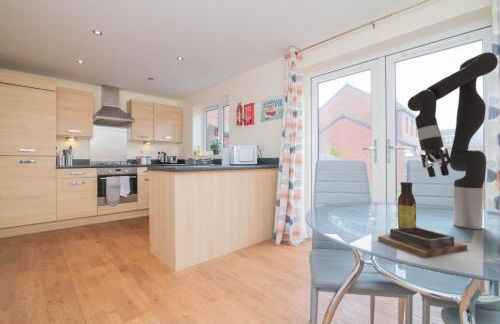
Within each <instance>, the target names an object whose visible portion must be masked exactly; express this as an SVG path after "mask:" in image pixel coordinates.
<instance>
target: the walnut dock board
mask: <svg viewBox="0 0 500 324" xmlns="http://www.w3.org/2000/svg"><path fill="white" fill-rule="evenodd" d="M377 237H378V238H377V240H378V241H379V242H381V243H384V244H387V245H389V246H392V247H395V248H397V249H400V250H403V251H406V252H408V253H411V254H414V255H417V256H419V257H422V258H425V259H426V258H430V257H437V256H441V255H446V254H447V255H448V254H451V253H455V252H456V253H457V252H461V251H466V250H468V244H466V243H461V242H458V241H455V237H454V236H452V235H448V234H444V233H442V232H441V233H440V232H437V231H433V230H429V229H426V228H421V227H418V226H416V227H415V226H412V227H404V228H398V227H397V228H390V231H389V234H385V235H378V236H377Z"/></svg>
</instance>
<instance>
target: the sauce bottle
mask: <svg viewBox="0 0 500 324" xmlns="http://www.w3.org/2000/svg"><path fill="white" fill-rule="evenodd" d="M412 226H415V227H417V202H416V199H415V196H414V194H413V182H411V181H400V194H399V196H398V197H397V228H404V227H412Z"/></svg>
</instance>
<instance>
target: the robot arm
mask: <svg viewBox="0 0 500 324" xmlns="http://www.w3.org/2000/svg"><path fill="white" fill-rule="evenodd" d="M498 61H499V60H498V57H497V55H496V54H494V53H493V52H489V51H487V52H481V53H479V54H477V55H475V56H471V57H470V58H468V59H465V60H464V61H463V62H461V64H460V66H459V70H457V71H455V72H453V73H451V74H449V75H447V76H444V77H443V78H441V79H439V80H437V81H436V82H434V83H433V84H431V85H430V86H428V87H427V88H426V89H423V90H421V91H420V92H418V93H416V94H415V95H413V96H411V97H410V98H409V99H408V101H407V108H408V109H409V110H410V111H412V112H419V113H418V115H416V116H415V120H414V122H415V125H416V130H417V137H418V143H419V146H420V150H421V151H424V153H423V154H422V153H421V154H420V158H421V163H422V164H421V165H422V167H423V168H425V169H426V170H427V173H428V177H429V178H435V177H436V172H435V168H434V166H435V164H436V163H437V164H438V165H439V169H440V173H441V176H442V177H445V176H450V172H449V171H450V170H449V168H448V166H450V168H451V169H452V170H453V171H456V172H465V174H464V176H463V177H461V178H459V179H458V178H457V179H455V180H454V181H453V182H454V183H453V185H454V186H453V188H454V189H453V225H454V226H456V227H458V228H459V227H460V228H463V229H471V230H481V229H483V227H482V226H483V225H484V224H483V221H484V219H483V217H484V212H483V211H484V208H483V207H484V206H483V202H484V201H483V198H484V197H483V196H484V195H483V193H484V183H485V181H486V174H487V173H486V172H487V156H486V155H485V153H484V152H483V151H481V150H478V149H473V150H469V147H470V146H469V145H470V142H471V140H472V138H473V137H474V135H475V134H476V133H477V132H478V130H480V128H481V127H482V125H483V124H484V122H485V118H486V110H487V109H486V108H487V106H486V103H485V101H484V100H483V98H482V96H481V95H480V93H478V90H477V79H478V78H479V77H482V76H485V75H488V74H490V73H491V72H494V70H496V68H497V66H498V63H499V62H498ZM457 89H459V90H458V91H459V92H458V104H457V109H456V110H457V111H456V121H455V129H454V138H453V141H452V145H451V150H450V154H449V151H448V148H443V147H444V142H443V138H442V134H441V131H440V128H439V124H438V121H437V117H436V114H437V101H439V100H440V99H442V98H444V97H446V96H448V95H449V94H451V93H453V92H454V91H456V90H457Z"/></svg>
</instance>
